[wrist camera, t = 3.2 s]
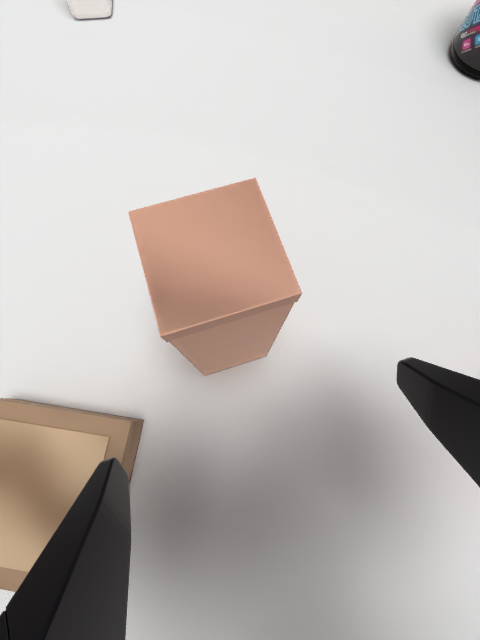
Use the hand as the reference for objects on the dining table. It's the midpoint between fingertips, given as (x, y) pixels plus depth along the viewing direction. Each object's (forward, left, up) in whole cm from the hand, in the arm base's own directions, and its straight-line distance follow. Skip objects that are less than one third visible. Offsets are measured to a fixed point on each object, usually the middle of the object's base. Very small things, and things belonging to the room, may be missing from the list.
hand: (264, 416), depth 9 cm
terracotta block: (+5, +2, -12) cm, 13 cm away
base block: (-6, +11, -12) cm, 18 cm away
